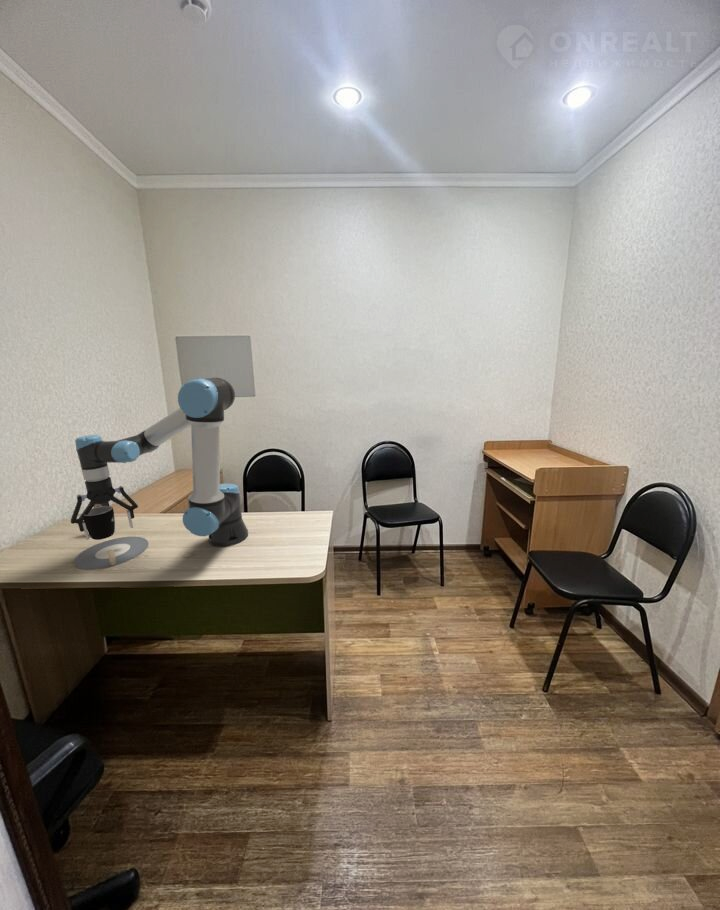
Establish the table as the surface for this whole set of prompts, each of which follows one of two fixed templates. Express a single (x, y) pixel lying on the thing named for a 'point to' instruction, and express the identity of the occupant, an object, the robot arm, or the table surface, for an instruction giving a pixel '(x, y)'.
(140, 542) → the flange base
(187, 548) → the table surface
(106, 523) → the mug
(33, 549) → the table surface
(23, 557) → the table surface
